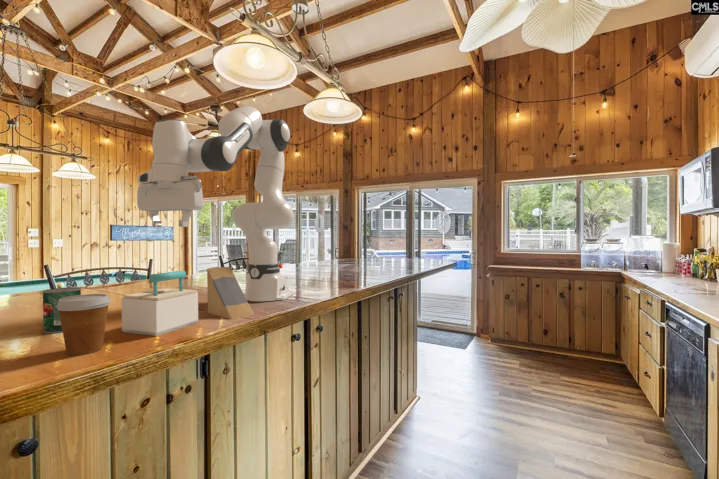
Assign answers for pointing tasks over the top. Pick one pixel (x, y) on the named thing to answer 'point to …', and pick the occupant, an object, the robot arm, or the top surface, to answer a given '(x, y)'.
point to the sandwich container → (226, 294)
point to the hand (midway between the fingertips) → (169, 226)
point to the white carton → (159, 314)
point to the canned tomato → (51, 311)
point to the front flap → (164, 277)
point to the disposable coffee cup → (83, 322)
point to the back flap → (147, 293)
